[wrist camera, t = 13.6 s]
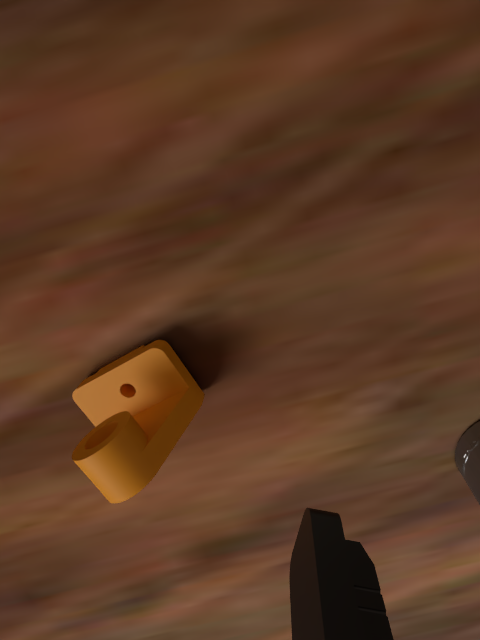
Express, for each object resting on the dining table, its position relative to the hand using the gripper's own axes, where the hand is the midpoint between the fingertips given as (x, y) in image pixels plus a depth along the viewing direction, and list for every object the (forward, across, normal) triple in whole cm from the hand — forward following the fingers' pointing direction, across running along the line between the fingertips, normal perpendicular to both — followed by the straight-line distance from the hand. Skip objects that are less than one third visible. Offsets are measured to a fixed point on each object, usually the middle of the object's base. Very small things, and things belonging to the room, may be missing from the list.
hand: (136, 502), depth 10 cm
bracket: (+28, +7, +15) cm, 33 cm away
